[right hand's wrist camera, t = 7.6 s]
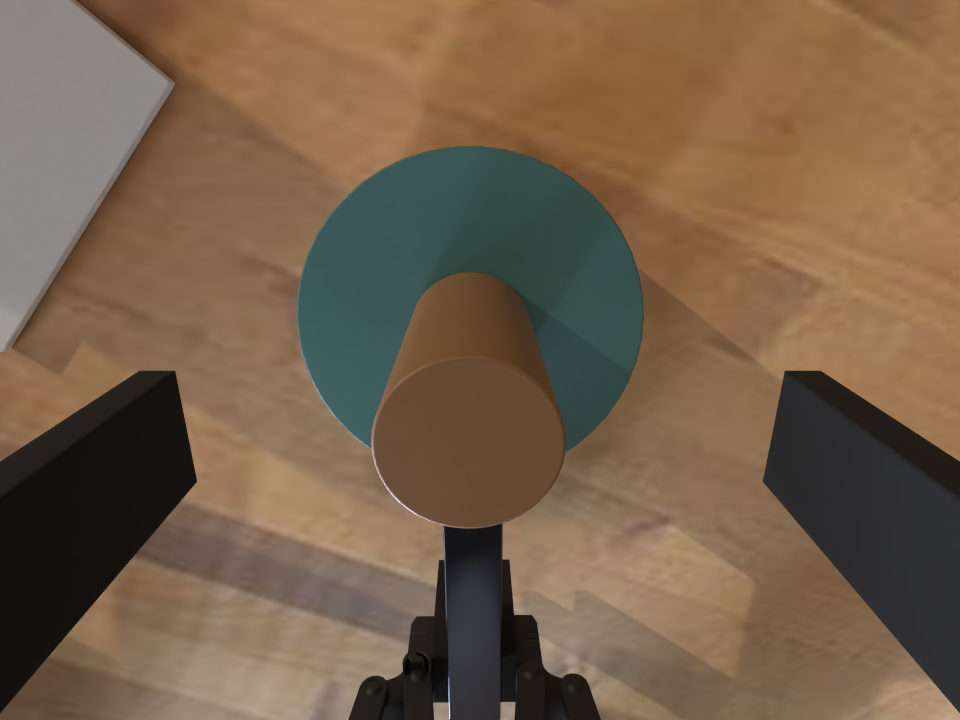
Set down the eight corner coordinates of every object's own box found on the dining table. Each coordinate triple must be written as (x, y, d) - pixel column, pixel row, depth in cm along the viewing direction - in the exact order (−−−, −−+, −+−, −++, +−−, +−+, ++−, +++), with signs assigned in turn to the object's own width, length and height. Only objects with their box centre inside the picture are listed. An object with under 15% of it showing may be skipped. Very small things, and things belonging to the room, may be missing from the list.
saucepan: (360, 166, 26) (313, 173, 18) (581, 165, 26) (624, 172, 18) (391, 602, 35) (369, 729, 27) (557, 601, 35) (580, 726, 27)
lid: (487, 517, 23) (494, 732, 15) (240, 339, 20) (72, 476, 12) (705, 304, 20) (874, 420, 12) (449, 61, 17) (426, -22, 9)
